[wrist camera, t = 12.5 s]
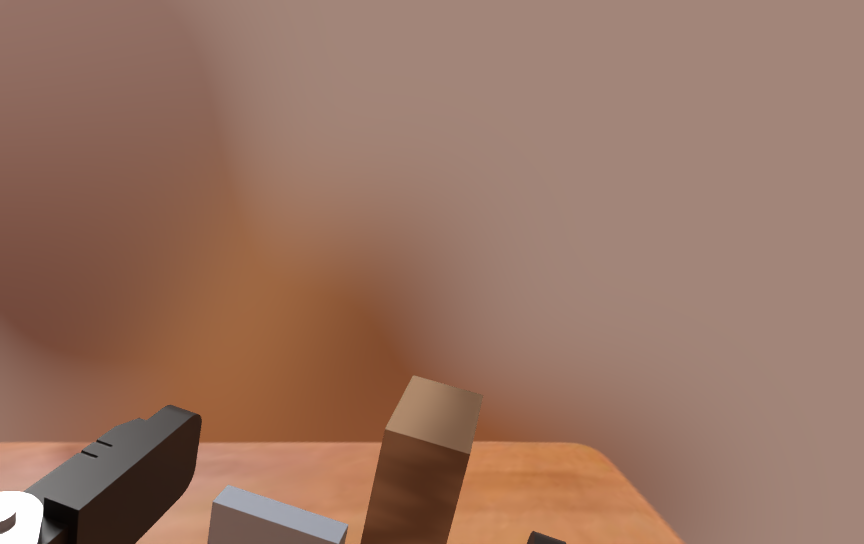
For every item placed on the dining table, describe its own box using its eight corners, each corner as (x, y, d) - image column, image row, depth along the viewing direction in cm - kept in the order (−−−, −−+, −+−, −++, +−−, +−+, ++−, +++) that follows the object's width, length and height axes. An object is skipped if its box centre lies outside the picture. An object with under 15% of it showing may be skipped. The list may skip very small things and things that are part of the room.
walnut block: (335, 660, 30) (385, 429, 26) (368, 575, 36) (413, 375, 32) (408, 686, 29) (470, 454, 26) (430, 596, 35) (483, 395, 31)
